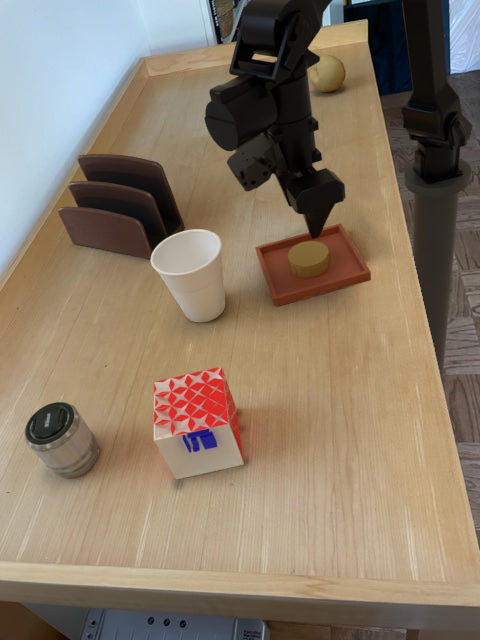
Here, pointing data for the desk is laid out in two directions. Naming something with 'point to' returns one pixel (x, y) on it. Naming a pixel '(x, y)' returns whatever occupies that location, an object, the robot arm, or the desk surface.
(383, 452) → the desk surface
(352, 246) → the tray
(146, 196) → the letter holder
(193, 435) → the red white patterned cube
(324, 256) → the lid
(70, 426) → the camera lens
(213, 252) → the cup
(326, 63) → the fruit
